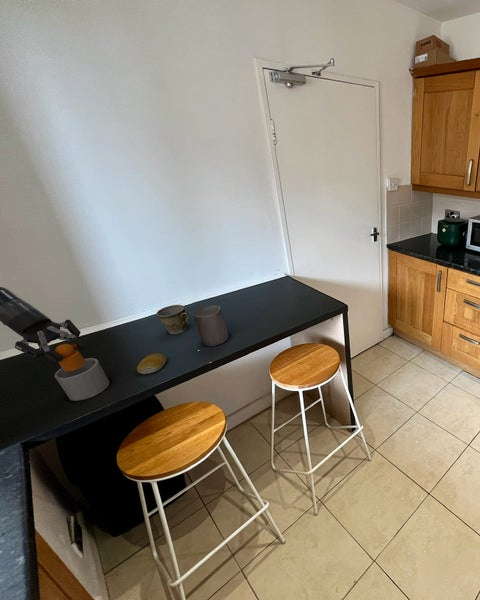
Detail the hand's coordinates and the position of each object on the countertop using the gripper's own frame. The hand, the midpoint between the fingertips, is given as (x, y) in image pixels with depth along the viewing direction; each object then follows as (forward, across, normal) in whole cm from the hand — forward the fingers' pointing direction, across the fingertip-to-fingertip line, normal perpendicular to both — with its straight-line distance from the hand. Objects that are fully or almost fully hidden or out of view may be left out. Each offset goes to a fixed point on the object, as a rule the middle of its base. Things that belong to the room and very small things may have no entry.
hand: (72, 354), depth 97 cm
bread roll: (+17, +14, +4) cm, 22 cm away
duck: (+2, 0, +5) cm, 5 cm away
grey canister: (+24, +34, -3) cm, 42 cm away
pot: (+9, 0, +12) cm, 15 cm away
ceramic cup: (+10, +37, +12) cm, 40 cm away
